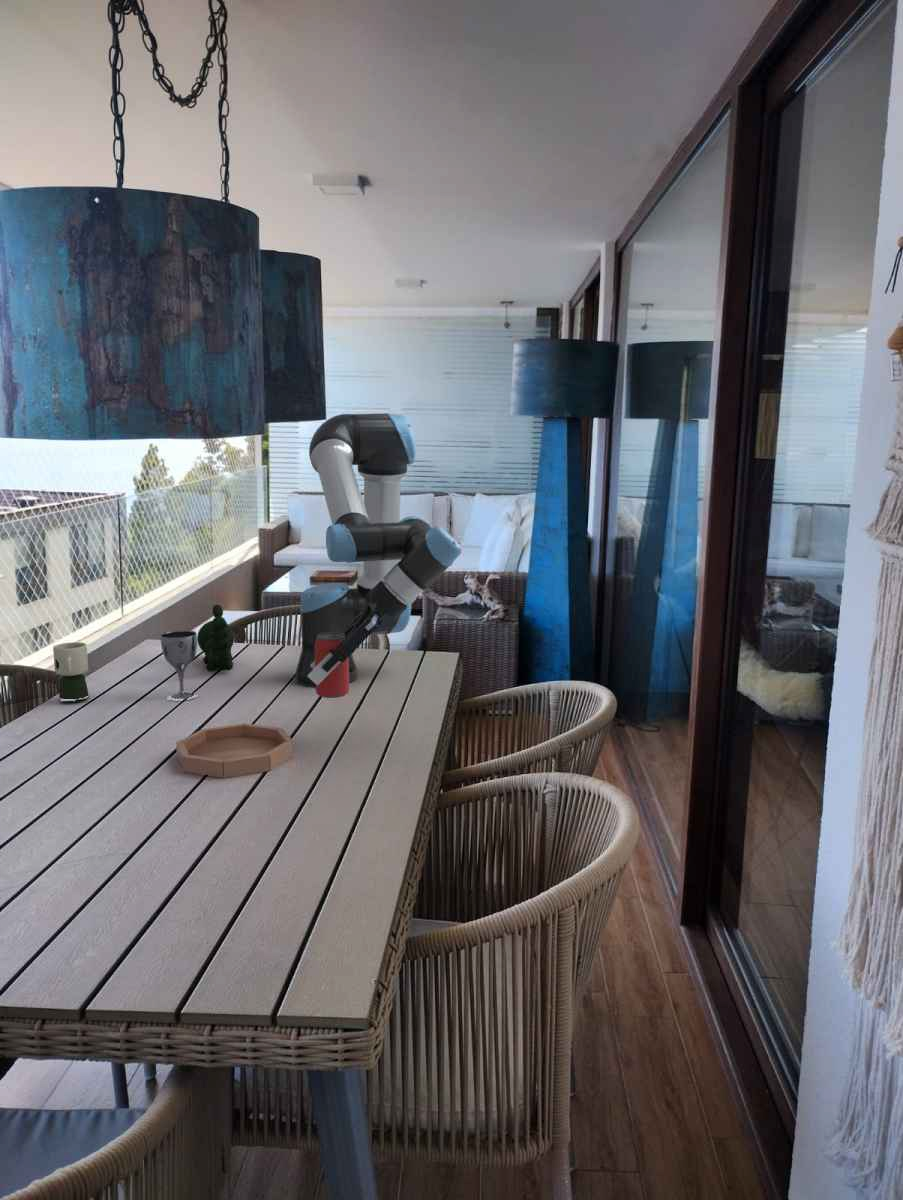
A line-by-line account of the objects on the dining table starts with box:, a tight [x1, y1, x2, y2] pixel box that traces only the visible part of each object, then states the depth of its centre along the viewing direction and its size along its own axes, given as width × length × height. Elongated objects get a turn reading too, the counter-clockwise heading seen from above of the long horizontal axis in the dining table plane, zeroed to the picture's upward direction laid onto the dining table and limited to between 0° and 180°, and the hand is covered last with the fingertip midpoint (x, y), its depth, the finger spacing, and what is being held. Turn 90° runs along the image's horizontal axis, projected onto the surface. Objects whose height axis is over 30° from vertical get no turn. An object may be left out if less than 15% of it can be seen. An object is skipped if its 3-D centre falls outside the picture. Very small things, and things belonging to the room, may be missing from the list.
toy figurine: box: [197, 604, 235, 672], centre depth 246 cm, size 9×19×25 cm
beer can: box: [314, 632, 350, 699], centre depth 187 cm, size 7×7×12 cm
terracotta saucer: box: [175, 723, 294, 779], centre depth 181 cm, size 20×20×3 cm
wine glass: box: [160, 629, 198, 699], centre depth 219 cm, size 8×8×15 cm
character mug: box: [52, 641, 89, 699], centre depth 216 cm, size 11×7×13 cm, turn 15°
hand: (314, 675), depth 187 cm, fingers closed on beer can, 6 cm apart
